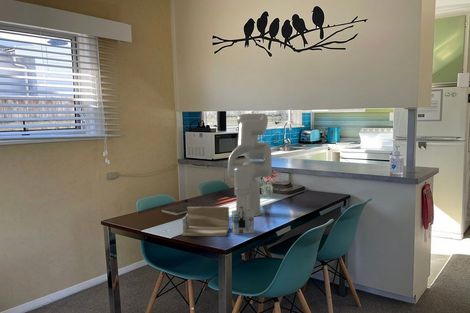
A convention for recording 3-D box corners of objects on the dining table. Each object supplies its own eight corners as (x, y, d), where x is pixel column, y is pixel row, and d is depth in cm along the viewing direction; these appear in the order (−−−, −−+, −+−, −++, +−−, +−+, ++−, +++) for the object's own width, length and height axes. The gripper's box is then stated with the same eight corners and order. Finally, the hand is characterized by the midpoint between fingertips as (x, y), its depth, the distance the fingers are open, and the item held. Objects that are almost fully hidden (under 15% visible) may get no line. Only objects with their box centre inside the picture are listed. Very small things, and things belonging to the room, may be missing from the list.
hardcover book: (204, 208, 265) (204, 205, 264) (177, 216, 248) (176, 212, 248) (188, 205, 275) (188, 202, 275) (160, 212, 259) (160, 208, 258)
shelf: (188, 227, 221) (187, 206, 219) (229, 228, 218) (228, 206, 217) (182, 235, 207) (181, 213, 205) (225, 236, 204) (224, 213, 203)
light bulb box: (234, 234, 206) (233, 213, 205) (231, 230, 213) (231, 210, 211) (254, 233, 208) (254, 212, 207) (251, 229, 214) (251, 208, 213)
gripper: (236, 188, 217) (237, 220, 219) (232, 195, 200) (233, 230, 202) (250, 188, 216) (251, 220, 218) (247, 195, 199) (248, 230, 201)
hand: (242, 225), depth 210 cm, fingers closed on light bulb box, 8 cm apart
